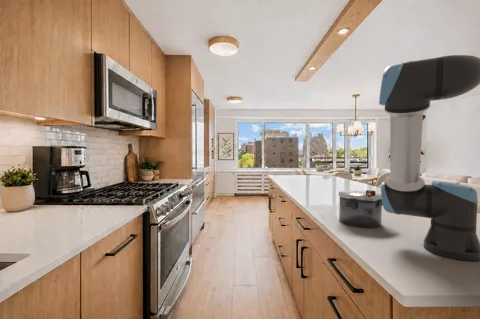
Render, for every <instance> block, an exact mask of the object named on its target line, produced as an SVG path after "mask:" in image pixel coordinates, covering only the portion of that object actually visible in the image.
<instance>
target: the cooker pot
mask: <svg viewBox="0 0 480 319" xmlns="http://www.w3.org/2000/svg"><path fill="white" fill-rule="evenodd" d="M338 207H339V211H338V219H339V220H338V221H339V222H340V223H341V224H343V225H347V226H350V227H354V228H361V229H377V228H380V227H382V214H383V213H382V212H383V210H382V208H383V204H382V200H381V201H362V200H353V199H347V198H343V197H340V196H339V206H338Z"/></svg>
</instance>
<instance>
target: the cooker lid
mask: <svg viewBox="0 0 480 319" xmlns="http://www.w3.org/2000/svg"><path fill="white" fill-rule="evenodd" d="M338 197H339V198H340V197H343V198H347V199H353V200H362V201H381V200H382V198H381V193H377V191H376V190H373V189H369V190H368V189H366V190H365V191H363V190H340V191H338Z"/></svg>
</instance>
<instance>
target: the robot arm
mask: <svg viewBox="0 0 480 319" xmlns="http://www.w3.org/2000/svg"><path fill="white" fill-rule="evenodd" d="M479 85H480V57H479V56H474V55H470V54H469V55H467V54H454V55H452V54H451V55H444V56H440V57H432V58H427V59H419V60H410V61H406V62H400V63H395V64H392V65H389V66H386V68H385V69H384V70H383V74H382V78H381V84H380V91H379V98H378V100H379V101H378V104H379V105H381V106H384V111H385V112H386V113H387V114H389V115H390V119H389V120H390V121H389V123H390V124H389V128H390V131H389V132H390V133H389V134H390V135H389V136H390V138H389V140H390V141H389V145H390V146H389V149H390V150H389V151H390V152H389V155H390V156H389V157H390V158H389V159H390V160H389V161H390V166H389V167H390V171H389V173H390V175H388V176H387V177H386V178H385V181H382V182H381V186H380V194H381V198H382V204H383V205H382V208H383V210H384V211H385V212H387V213H390V214H395V215H403V216H409V217H410V216H411V217H418V218H427V219H430V225H429V228H428V231H427V232H426V234H425V237H424V239H423V248H424V249H426V250H427V251H429V252H431V253H433V254H435V255H438V256H442V257H445V258H450V259H453V260H459V261H465V262H466V261H468V262H479V261H480V240H479V236H478V234H477V220H478V218H477V217H478V204H479V201H478V192H477V190H476V189H475V188H474V187H471V186H468V185H464V184H459V183H453V182H447V181H439V180H433V181H432V182H431V184H425V183H426V182H425V180H424V178H422V177H421V176H420V174H421V157H422V139H423V136H422V135H423V121H424V120H426V115H425V114H424V112H426V111H427V110H428V109H430V107H431V102H432V101H440V100H448V99H452V98H456V97H459V96H462V95H465V94H466V93H468V92H470V91H472V90H474V89H475V88H476V87H479Z"/></svg>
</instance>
